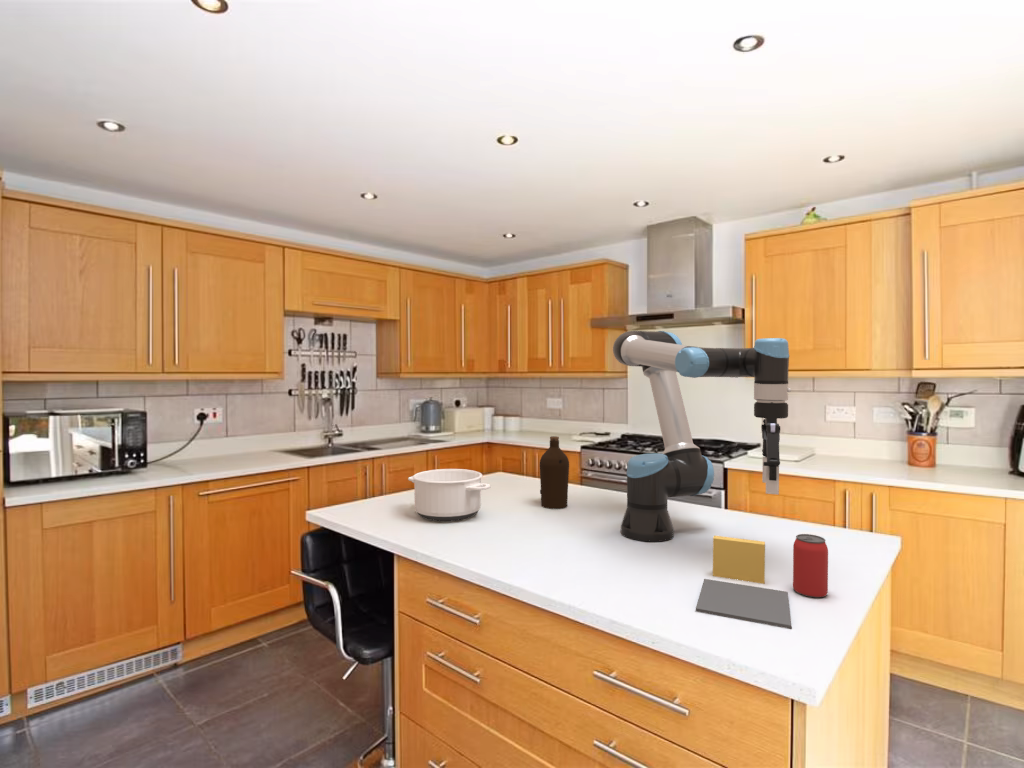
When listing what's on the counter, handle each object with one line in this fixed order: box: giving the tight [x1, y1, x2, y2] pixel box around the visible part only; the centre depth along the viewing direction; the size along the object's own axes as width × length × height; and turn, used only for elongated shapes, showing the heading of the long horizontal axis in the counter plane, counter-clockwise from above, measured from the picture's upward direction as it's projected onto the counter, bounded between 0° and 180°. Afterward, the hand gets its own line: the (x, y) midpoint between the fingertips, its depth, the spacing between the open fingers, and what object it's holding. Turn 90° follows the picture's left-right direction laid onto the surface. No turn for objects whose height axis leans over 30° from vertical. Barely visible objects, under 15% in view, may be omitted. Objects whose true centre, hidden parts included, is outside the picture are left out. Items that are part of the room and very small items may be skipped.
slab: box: [712, 535, 766, 585], centre depth 123 cm, size 11×2×9 cm, turn 65°
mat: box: [695, 578, 793, 630], centre depth 110 cm, size 17×17×1 cm
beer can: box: [792, 533, 829, 599], centre depth 115 cm, size 7×7×12 cm
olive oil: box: [539, 435, 570, 510], centre depth 191 cm, size 11×11×25 cm
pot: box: [407, 468, 491, 523], centre depth 178 cm, size 33×23×14 cm
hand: (770, 488), depth 130 cm, fingers open, 13 cm apart
